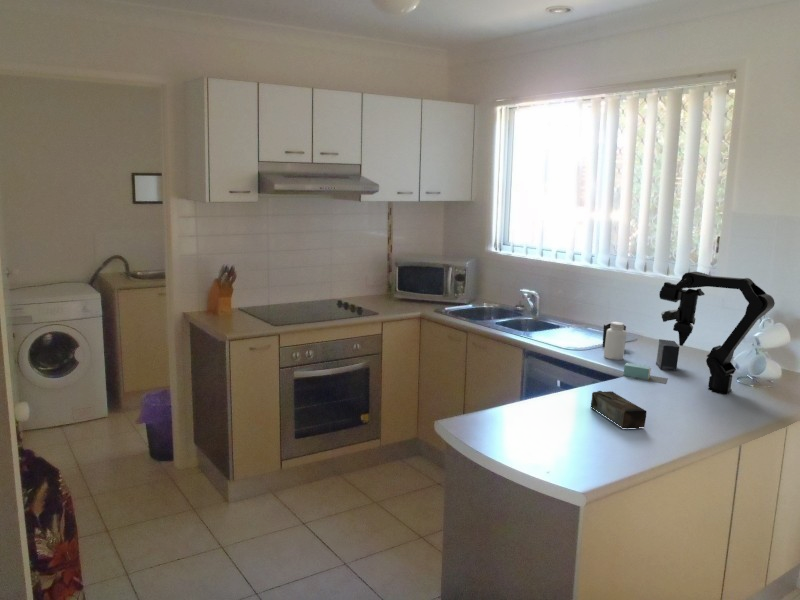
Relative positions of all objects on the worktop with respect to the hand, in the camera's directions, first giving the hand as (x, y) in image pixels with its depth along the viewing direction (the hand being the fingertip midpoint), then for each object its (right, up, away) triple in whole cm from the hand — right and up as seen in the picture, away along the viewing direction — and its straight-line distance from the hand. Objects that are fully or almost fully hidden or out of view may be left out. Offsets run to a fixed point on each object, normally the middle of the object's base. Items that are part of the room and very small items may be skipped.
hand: (681, 345), depth 249 cm
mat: (-11, -13, +1) cm, 17 cm away
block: (-11, -10, +1) cm, 16 cm away
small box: (+1, -10, +17) cm, 20 cm away
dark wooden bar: (-38, -21, -41) cm, 59 cm away
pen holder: (-11, -4, +47) cm, 48 cm away
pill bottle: (-16, -7, +29) cm, 34 cm away
